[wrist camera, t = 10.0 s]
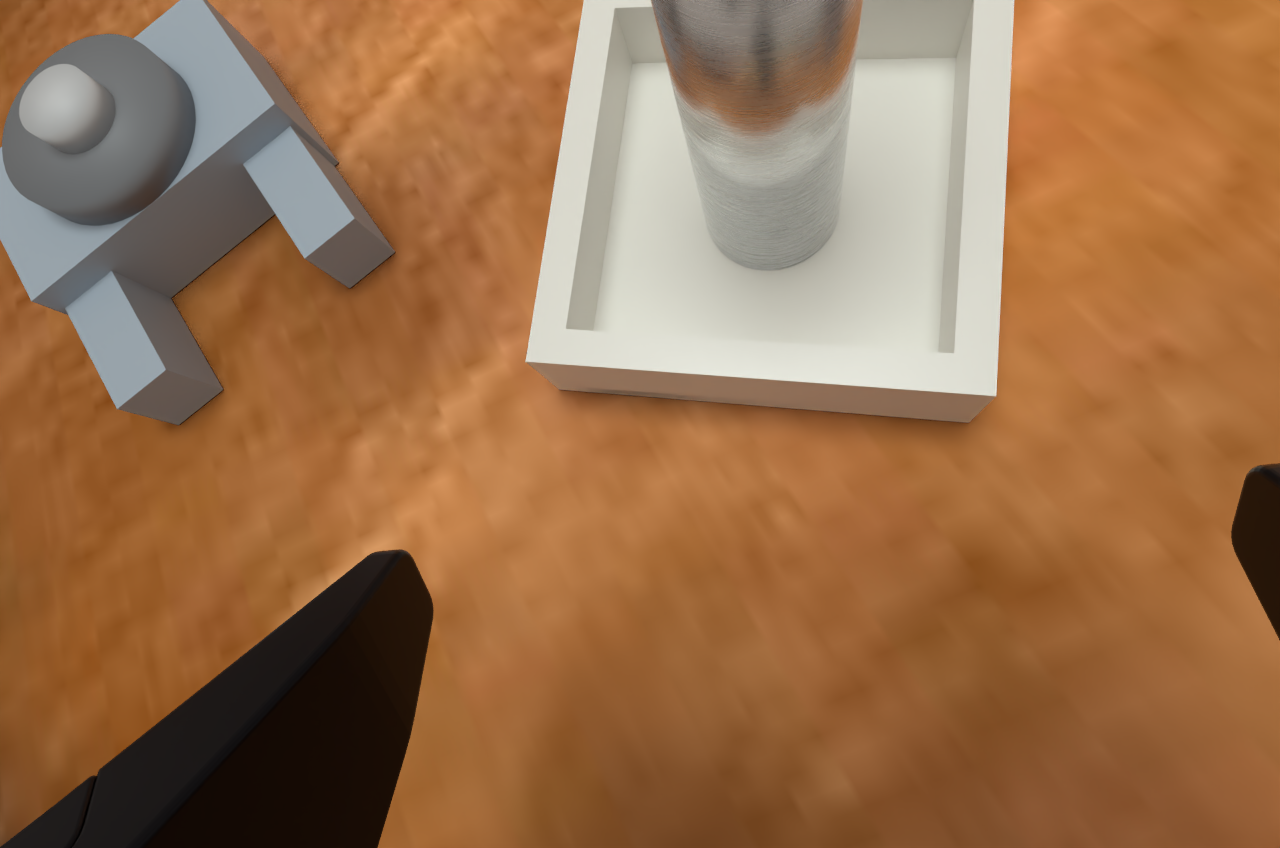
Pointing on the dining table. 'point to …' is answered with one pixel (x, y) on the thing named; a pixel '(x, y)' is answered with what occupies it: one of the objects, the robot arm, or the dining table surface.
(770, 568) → the dining table surface
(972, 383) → the tray
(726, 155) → the pin
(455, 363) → the dining table surface
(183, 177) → the tensioner block
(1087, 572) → the dining table surface
